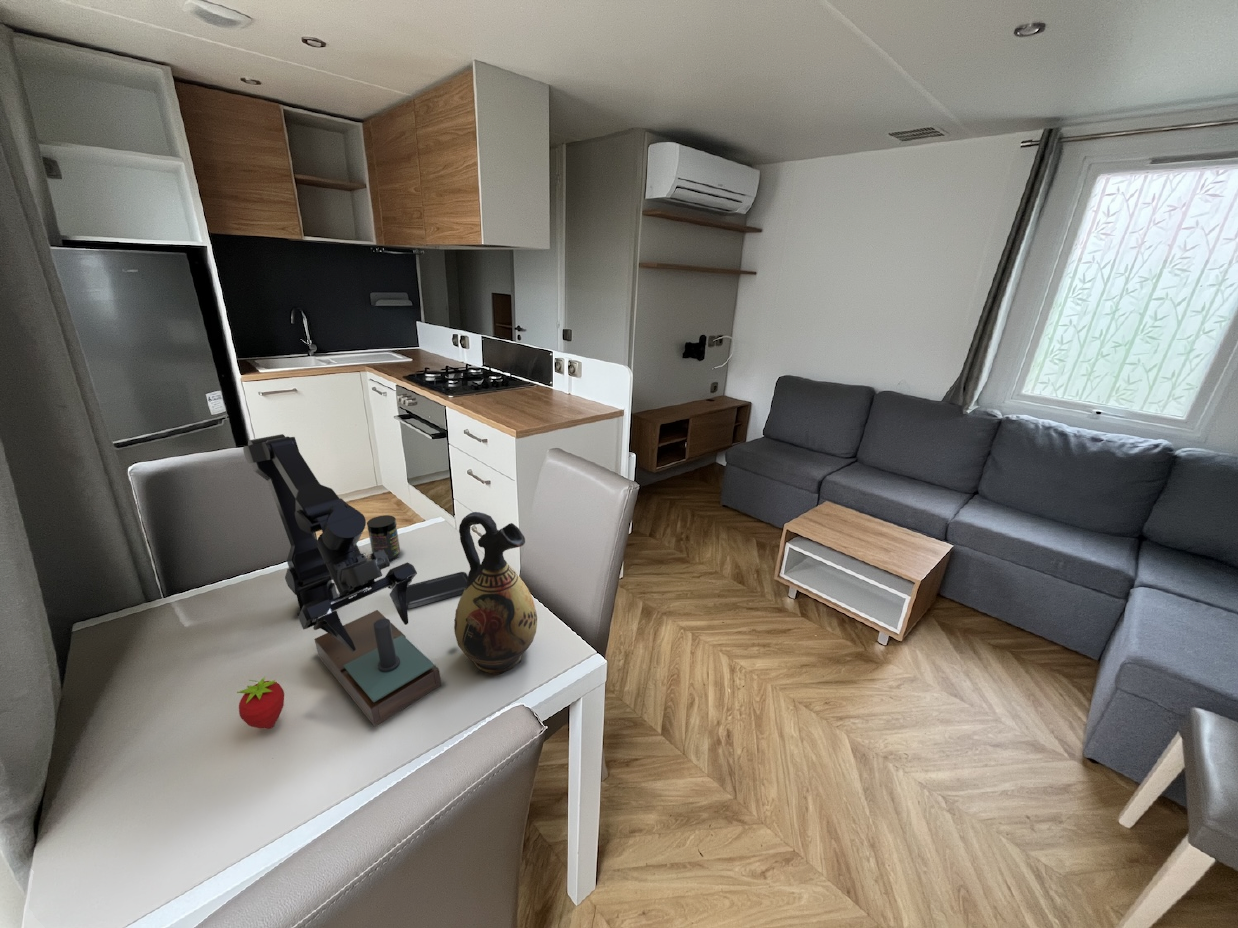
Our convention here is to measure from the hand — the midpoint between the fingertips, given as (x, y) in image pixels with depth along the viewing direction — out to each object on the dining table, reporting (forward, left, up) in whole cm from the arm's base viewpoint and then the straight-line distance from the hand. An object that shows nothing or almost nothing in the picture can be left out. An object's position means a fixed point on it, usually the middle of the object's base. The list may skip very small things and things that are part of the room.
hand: (381, 636), depth 86 cm
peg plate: (+1, -1, -6) cm, 6 cm away
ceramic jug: (+19, +3, -11) cm, 22 cm away
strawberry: (-17, -6, -11) cm, 21 cm away
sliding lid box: (-3, +4, -10) cm, 11 cm away
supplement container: (-8, +46, -11) cm, 48 cm away
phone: (+6, +27, -10) cm, 30 cm away
